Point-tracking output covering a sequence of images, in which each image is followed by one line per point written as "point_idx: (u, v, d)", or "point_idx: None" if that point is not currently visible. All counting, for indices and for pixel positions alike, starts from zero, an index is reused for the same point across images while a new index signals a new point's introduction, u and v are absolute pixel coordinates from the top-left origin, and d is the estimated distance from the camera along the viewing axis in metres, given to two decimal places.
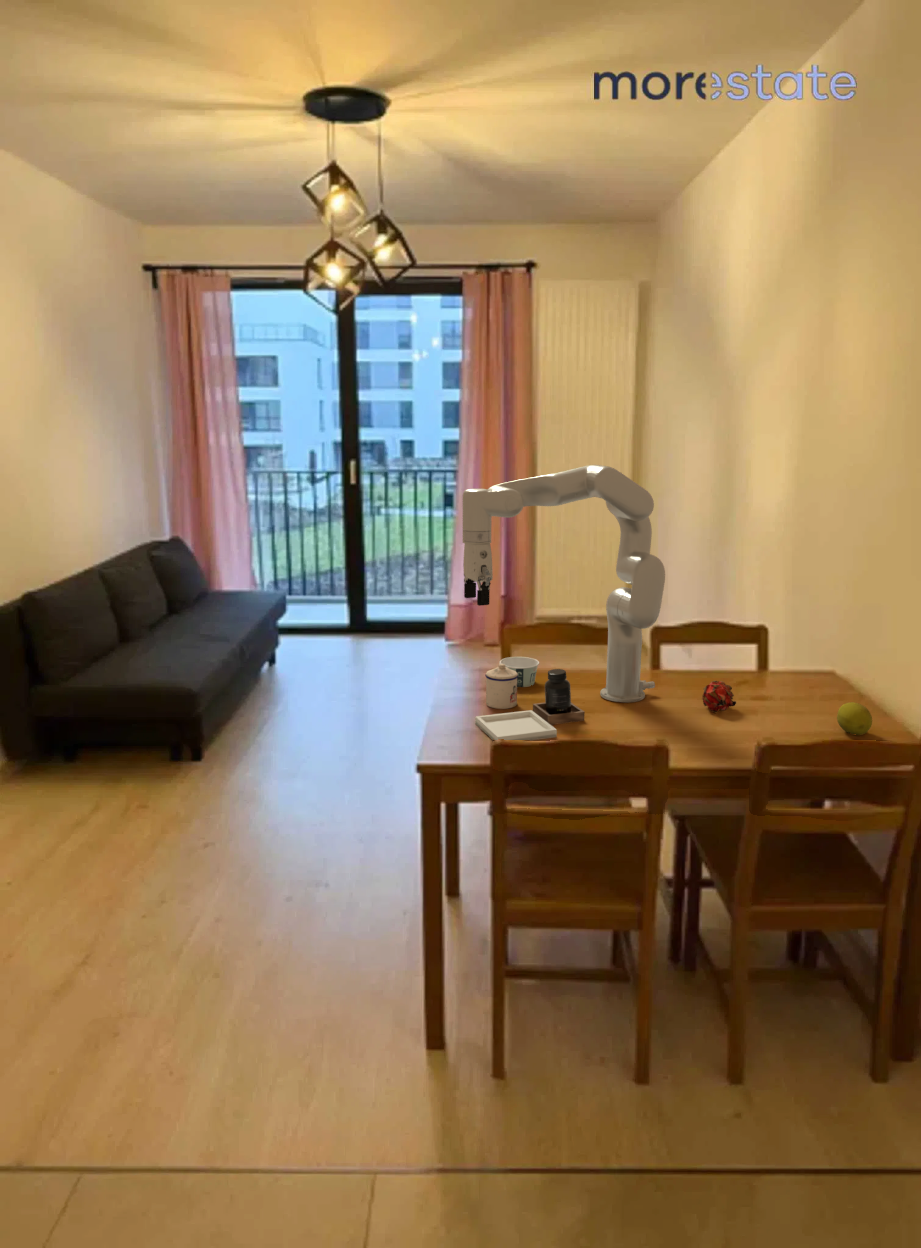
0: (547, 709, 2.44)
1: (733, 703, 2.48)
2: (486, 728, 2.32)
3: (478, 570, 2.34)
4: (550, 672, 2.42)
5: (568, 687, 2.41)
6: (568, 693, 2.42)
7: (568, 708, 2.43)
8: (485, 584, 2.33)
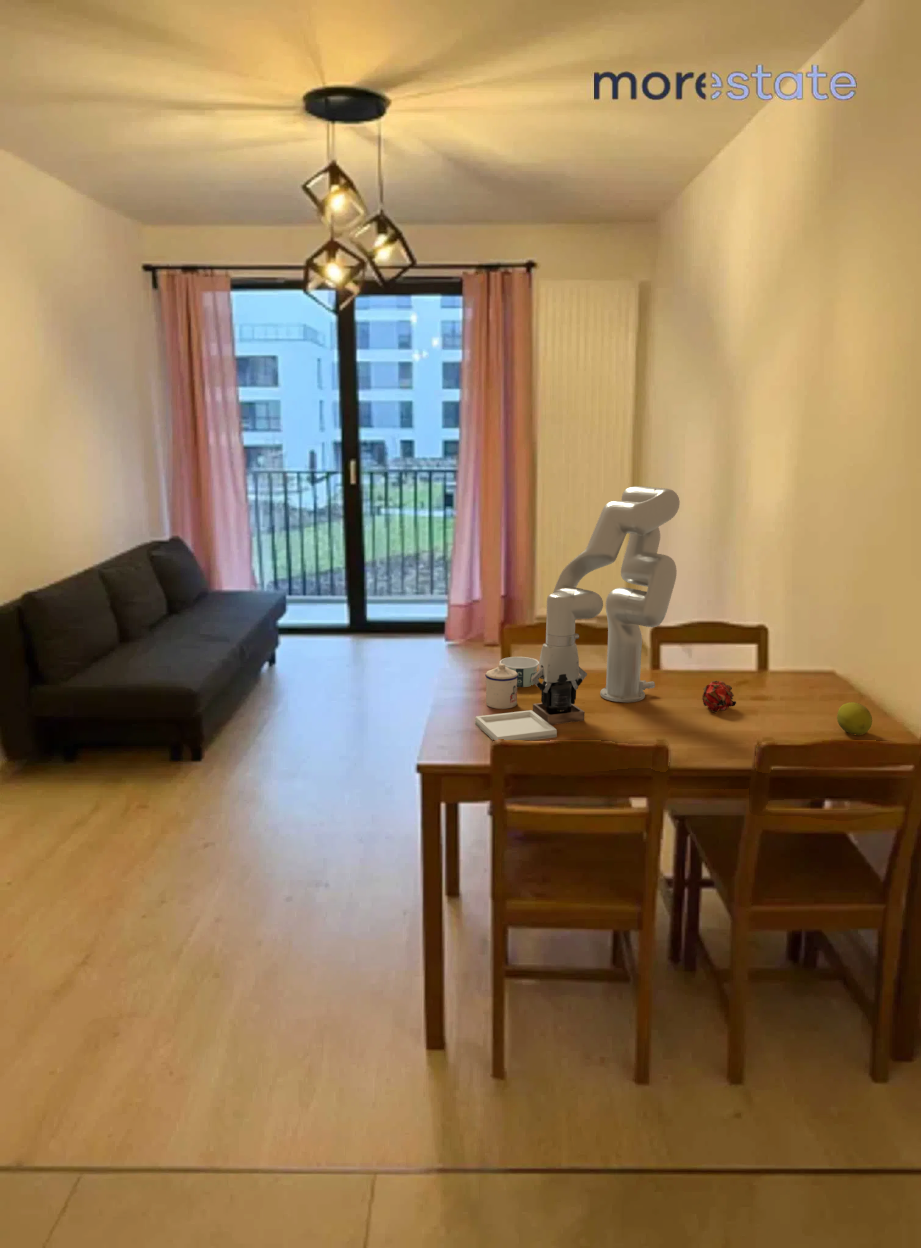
0: (547, 709, 2.44)
1: (733, 703, 2.48)
2: (486, 728, 2.32)
3: None
4: None
5: (570, 688, 2.42)
6: (569, 694, 2.42)
7: (568, 709, 2.43)
8: None
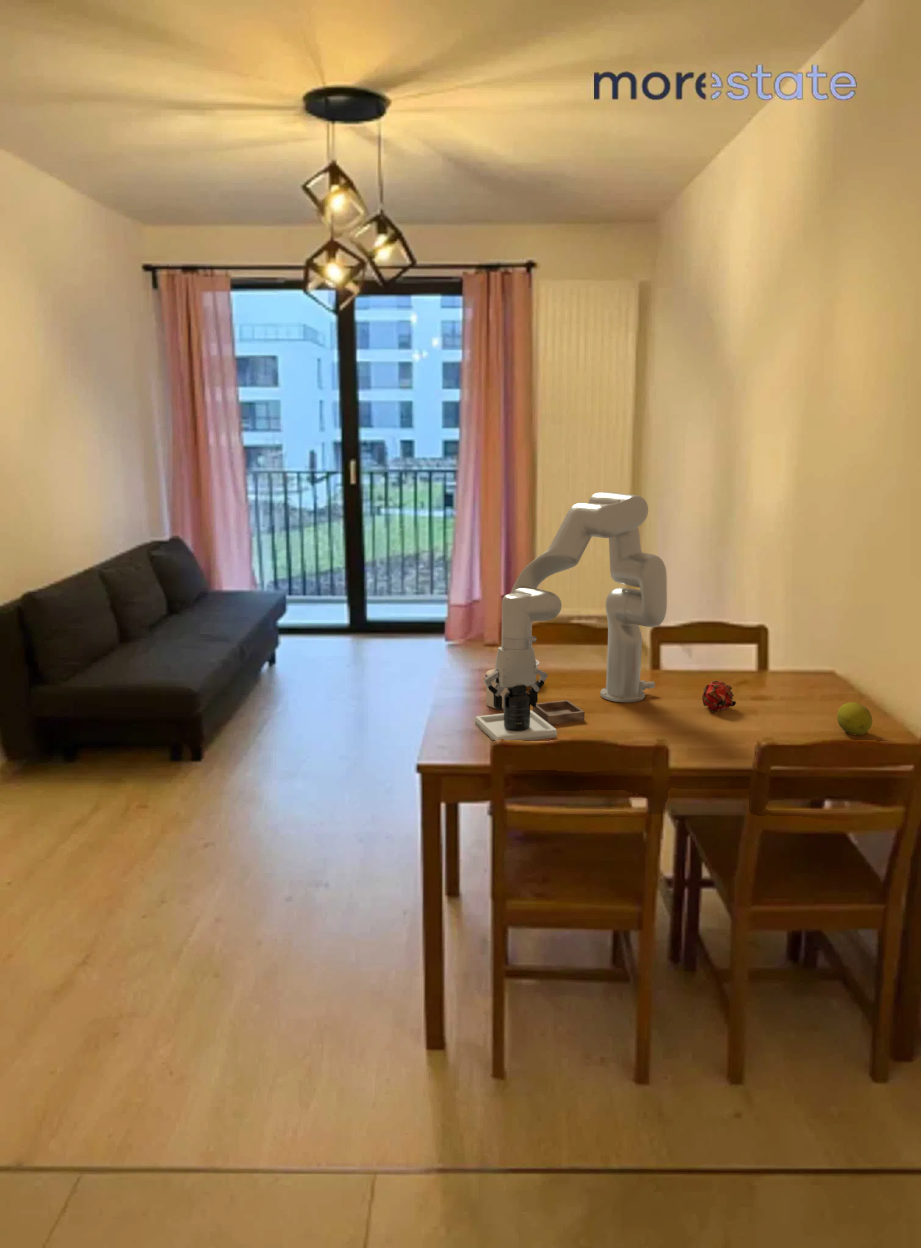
0: (505, 722, 2.34)
1: (733, 703, 2.48)
2: (486, 728, 2.32)
3: (536, 672, 2.32)
4: None
5: (528, 699, 2.31)
6: (527, 706, 2.32)
7: (526, 721, 2.32)
8: None
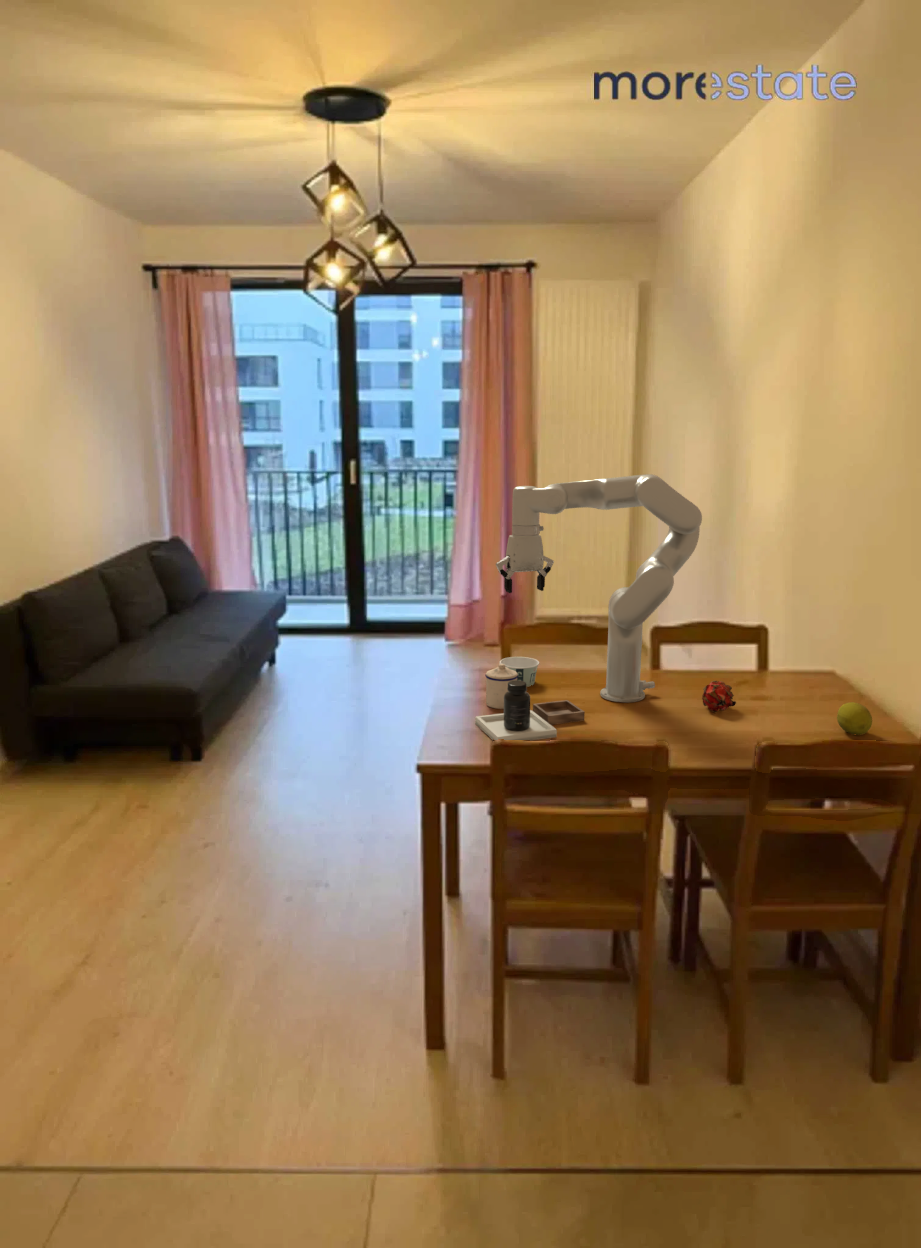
0: (505, 722, 2.34)
1: (733, 703, 2.48)
2: (486, 728, 2.32)
3: None
4: (510, 683, 2.32)
5: (528, 699, 2.31)
6: (527, 706, 2.32)
7: (526, 721, 2.32)
8: None
